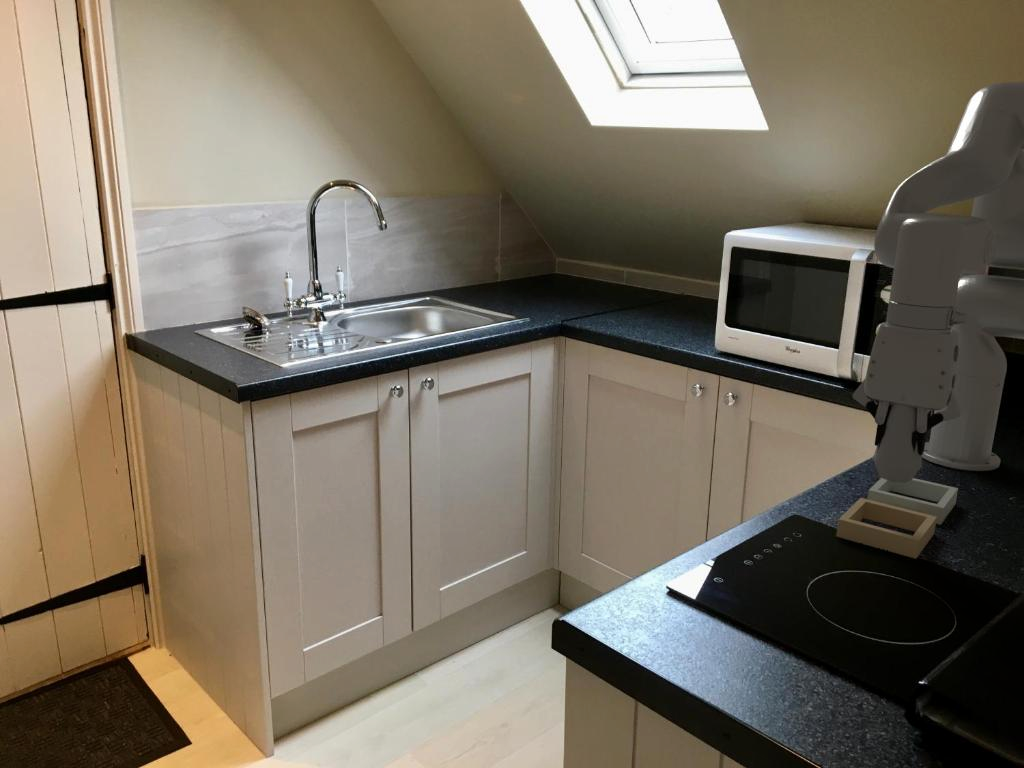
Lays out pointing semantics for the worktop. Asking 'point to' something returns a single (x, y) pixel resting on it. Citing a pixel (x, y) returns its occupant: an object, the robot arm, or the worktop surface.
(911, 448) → the salt shaker
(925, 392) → the robot arm
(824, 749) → the worktop surface
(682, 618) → the worktop surface
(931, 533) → the sockets
